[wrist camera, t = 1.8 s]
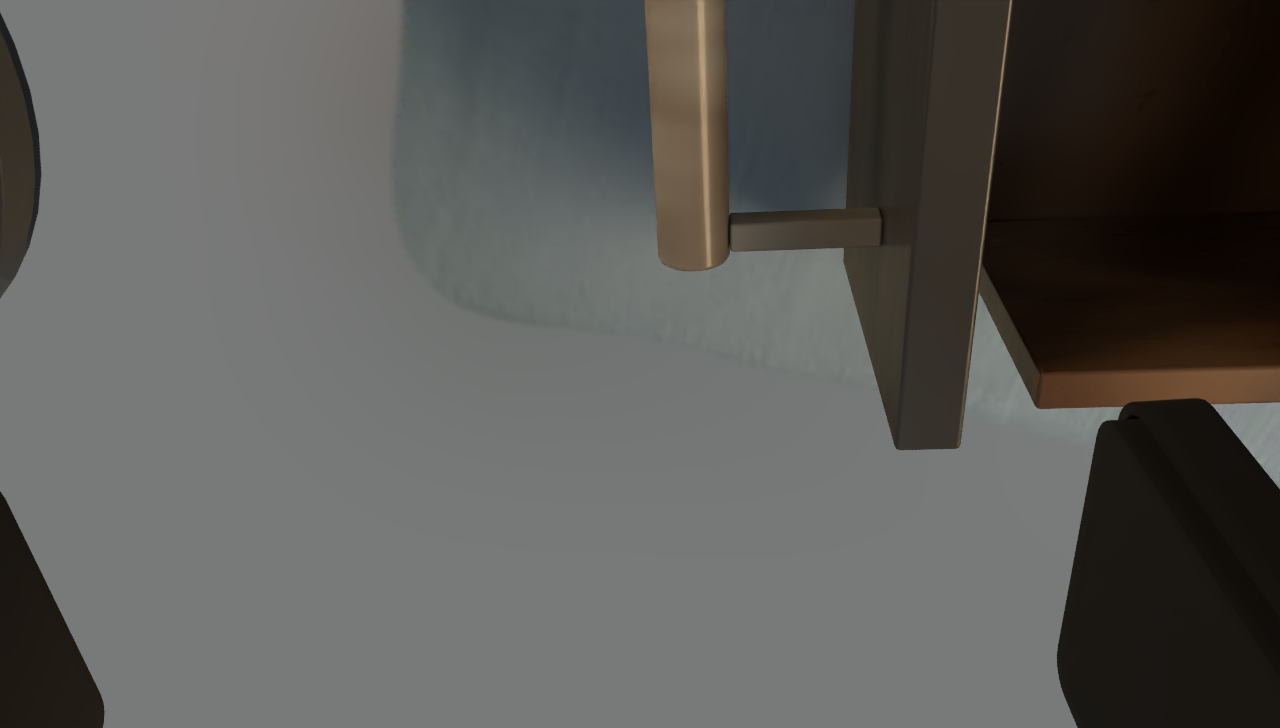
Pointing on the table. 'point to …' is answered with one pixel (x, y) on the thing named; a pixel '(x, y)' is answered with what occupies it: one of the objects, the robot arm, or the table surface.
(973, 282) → the drawer
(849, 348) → the table surface
